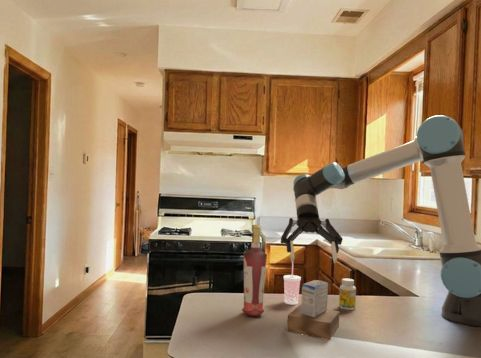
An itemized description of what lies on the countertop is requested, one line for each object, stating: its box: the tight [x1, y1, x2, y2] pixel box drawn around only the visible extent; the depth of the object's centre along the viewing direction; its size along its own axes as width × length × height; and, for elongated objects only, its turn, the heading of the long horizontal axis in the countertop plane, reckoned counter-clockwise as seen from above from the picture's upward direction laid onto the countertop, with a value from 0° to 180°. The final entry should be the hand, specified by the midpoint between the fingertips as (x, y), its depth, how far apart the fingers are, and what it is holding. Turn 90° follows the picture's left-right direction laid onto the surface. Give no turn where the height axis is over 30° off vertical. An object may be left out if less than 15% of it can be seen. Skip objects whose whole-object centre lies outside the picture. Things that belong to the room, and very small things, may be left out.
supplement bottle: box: [338, 277, 357, 311], centre depth 139 cm, size 5×5×10 cm
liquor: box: [241, 224, 268, 318], centre depth 127 cm, size 7×7×28 cm
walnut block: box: [286, 304, 340, 341], centre depth 117 cm, size 12×12×5 cm
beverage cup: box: [283, 262, 302, 306], centre depth 142 cm, size 6×6×14 cm
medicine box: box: [300, 279, 329, 317], centre depth 117 cm, size 8×4×9 cm, turn 142°
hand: (314, 260), depth 129 cm, fingers open, 13 cm apart
